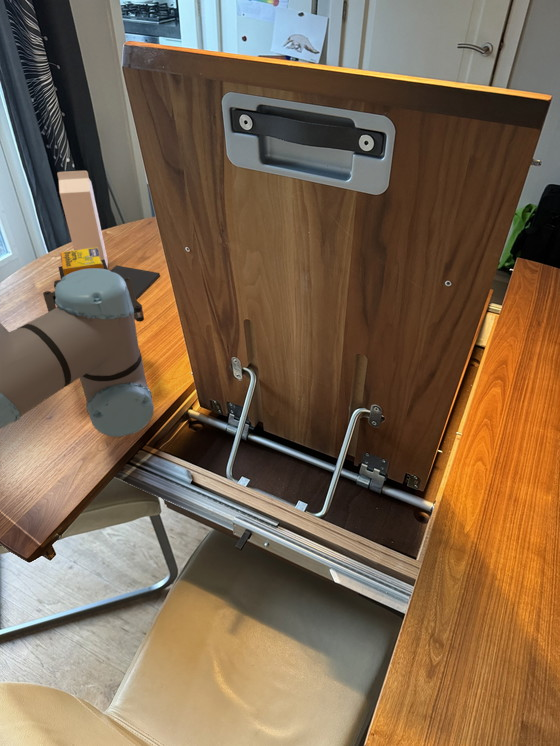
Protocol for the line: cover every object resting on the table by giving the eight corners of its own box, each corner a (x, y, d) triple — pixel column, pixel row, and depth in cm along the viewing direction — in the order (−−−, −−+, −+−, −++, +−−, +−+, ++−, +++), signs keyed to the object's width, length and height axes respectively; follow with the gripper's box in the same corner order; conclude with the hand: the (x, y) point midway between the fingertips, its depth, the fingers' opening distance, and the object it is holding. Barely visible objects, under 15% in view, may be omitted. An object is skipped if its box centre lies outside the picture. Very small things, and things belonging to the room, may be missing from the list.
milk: (81, 263, 121) (57, 167, 107) (108, 261, 122) (88, 165, 108) (80, 276, 116) (54, 177, 102) (108, 273, 118) (86, 175, 104)
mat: (90, 291, 111) (89, 288, 111) (116, 268, 120) (116, 265, 119) (136, 300, 109) (135, 297, 109) (160, 276, 117) (159, 272, 117)
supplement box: (74, 309, 89) (59, 251, 82) (110, 303, 91) (98, 246, 84) (78, 328, 85) (62, 268, 78) (115, 321, 87) (102, 262, 80)
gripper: (38, 383, 71) (29, 299, 87) (174, 352, 77) (142, 279, 93) (22, 338, 66) (16, 259, 82) (168, 310, 72) (136, 241, 88)
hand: (83, 270), depth 88 cm, fingers closed on supplement box, 6 cm apart
